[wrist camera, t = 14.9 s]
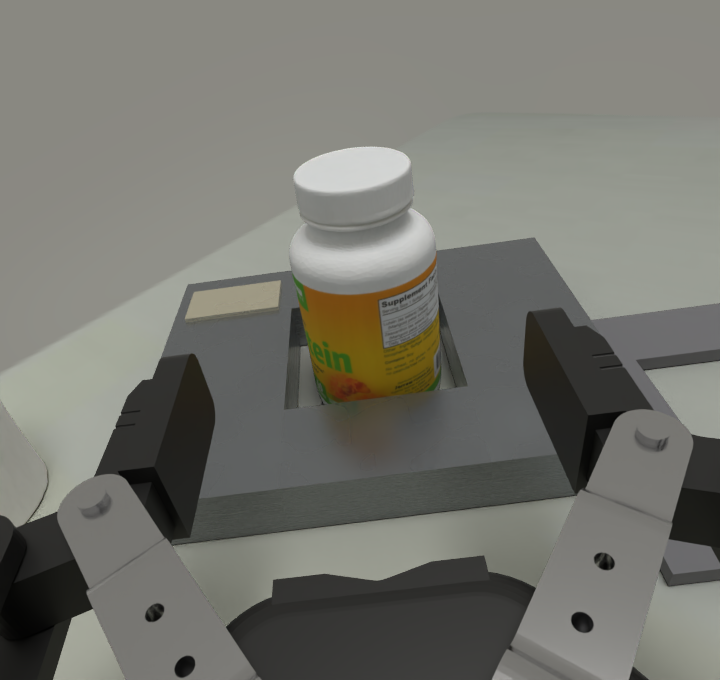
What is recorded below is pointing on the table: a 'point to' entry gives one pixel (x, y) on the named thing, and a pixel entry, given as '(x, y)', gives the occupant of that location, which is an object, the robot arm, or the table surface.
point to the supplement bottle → (365, 276)
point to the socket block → (372, 405)
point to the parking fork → (655, 350)
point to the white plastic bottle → (19, 473)
